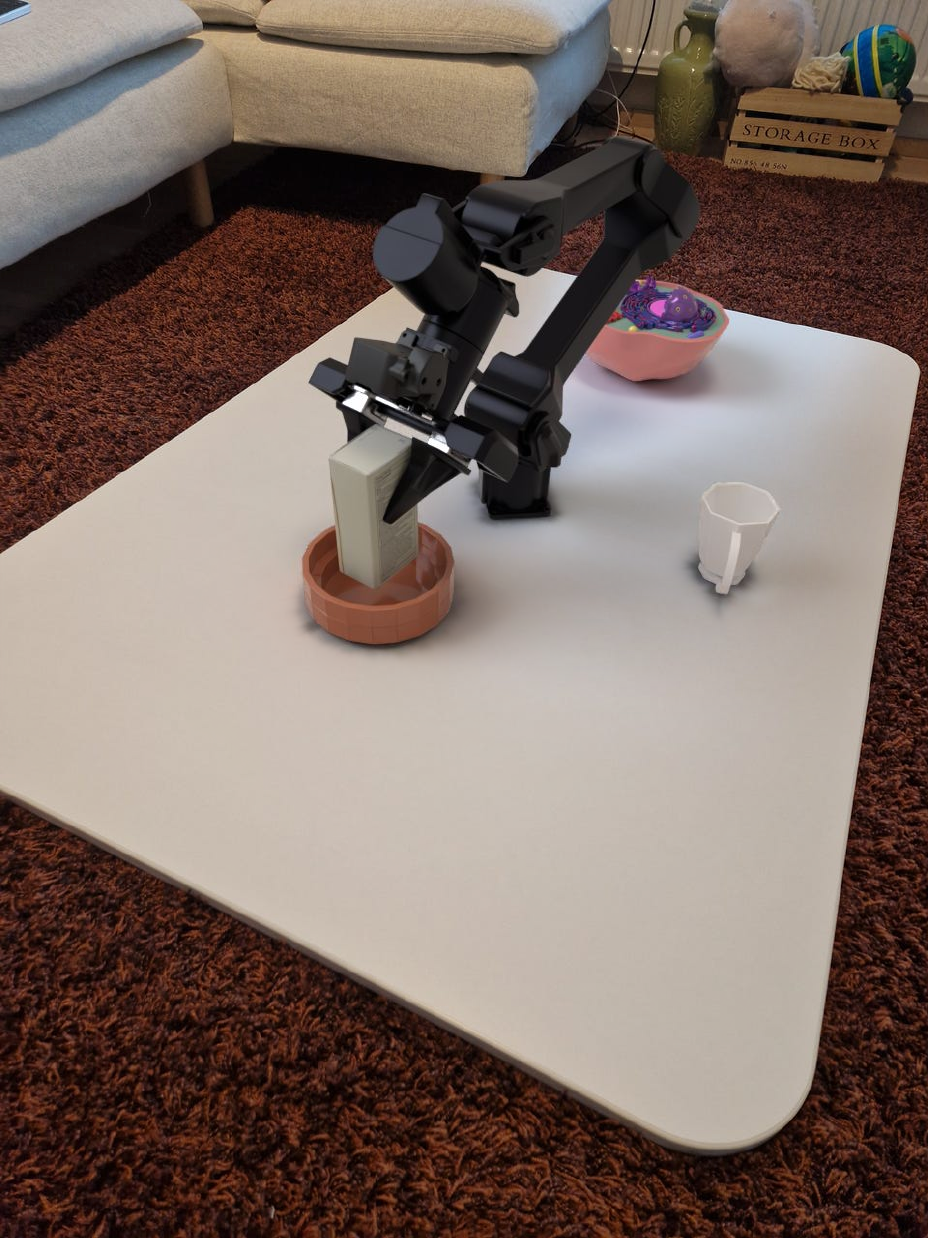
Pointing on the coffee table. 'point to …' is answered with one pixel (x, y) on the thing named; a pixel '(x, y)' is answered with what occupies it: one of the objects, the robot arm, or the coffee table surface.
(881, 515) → the coffee table surface
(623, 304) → the cell model
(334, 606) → the terracotta bowl
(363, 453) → the cosmetic box
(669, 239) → the robot arm
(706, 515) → the cup
